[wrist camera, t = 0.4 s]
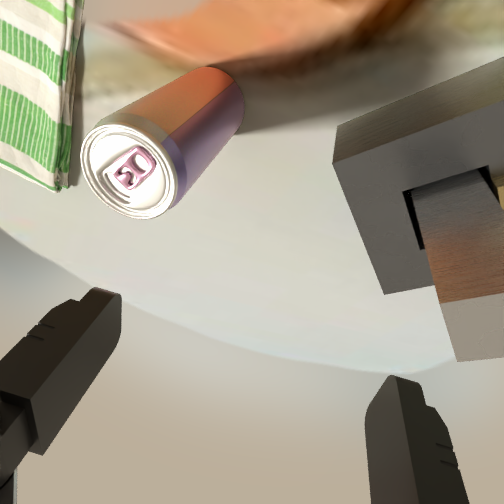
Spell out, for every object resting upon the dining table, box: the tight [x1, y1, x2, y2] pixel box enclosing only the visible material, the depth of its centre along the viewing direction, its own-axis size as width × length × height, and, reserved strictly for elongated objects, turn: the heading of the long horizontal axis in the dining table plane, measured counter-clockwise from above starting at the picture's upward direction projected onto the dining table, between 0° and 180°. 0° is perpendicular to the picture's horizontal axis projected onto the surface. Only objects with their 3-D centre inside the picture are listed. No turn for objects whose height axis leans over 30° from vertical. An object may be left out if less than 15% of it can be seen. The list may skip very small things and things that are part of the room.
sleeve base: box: [332, 57, 504, 295], centre depth 27 cm, size 12×12×9 cm
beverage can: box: [80, 67, 244, 219], centre depth 25 cm, size 6×6×15 cm
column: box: [410, 168, 504, 362], centre depth 23 cm, size 4×4×18 cm
